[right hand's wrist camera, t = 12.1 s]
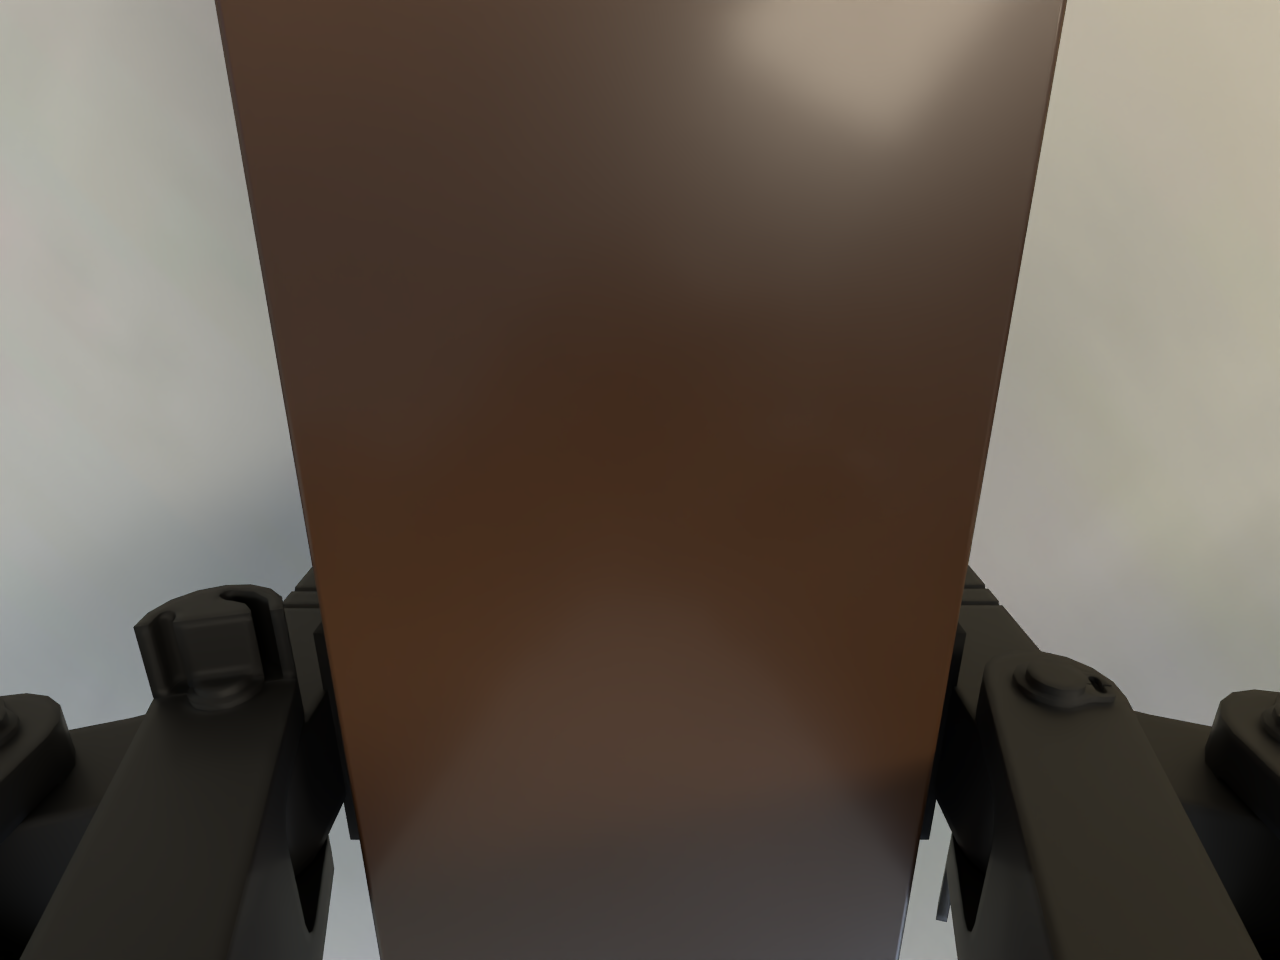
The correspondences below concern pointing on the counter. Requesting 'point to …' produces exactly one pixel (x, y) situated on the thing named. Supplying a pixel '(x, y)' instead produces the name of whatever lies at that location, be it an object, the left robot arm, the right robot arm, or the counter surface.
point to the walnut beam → (640, 440)
